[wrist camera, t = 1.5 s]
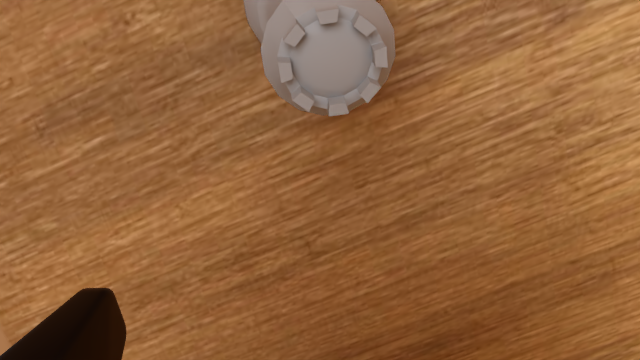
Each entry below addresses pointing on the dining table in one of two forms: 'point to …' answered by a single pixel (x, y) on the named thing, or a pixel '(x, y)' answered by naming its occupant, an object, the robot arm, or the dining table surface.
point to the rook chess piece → (323, 51)
